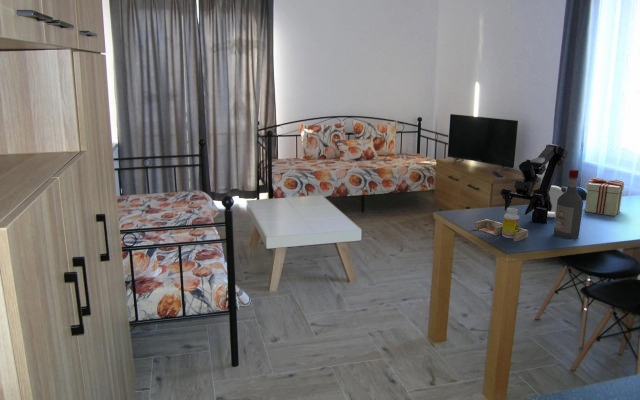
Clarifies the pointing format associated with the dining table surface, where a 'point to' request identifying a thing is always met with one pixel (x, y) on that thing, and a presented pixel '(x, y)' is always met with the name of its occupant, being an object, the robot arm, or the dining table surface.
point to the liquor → (569, 210)
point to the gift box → (604, 196)
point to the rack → (498, 229)
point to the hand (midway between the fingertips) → (515, 212)
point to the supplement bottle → (510, 223)
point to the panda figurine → (555, 198)
